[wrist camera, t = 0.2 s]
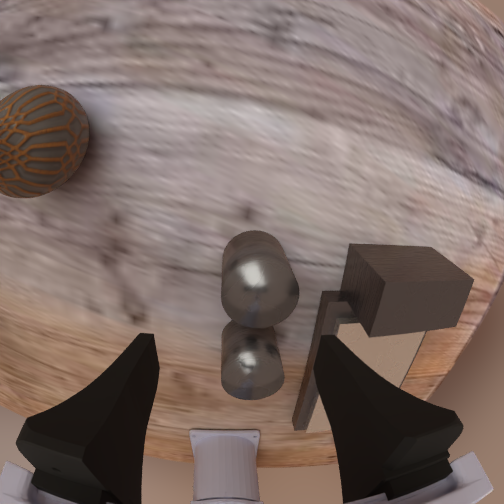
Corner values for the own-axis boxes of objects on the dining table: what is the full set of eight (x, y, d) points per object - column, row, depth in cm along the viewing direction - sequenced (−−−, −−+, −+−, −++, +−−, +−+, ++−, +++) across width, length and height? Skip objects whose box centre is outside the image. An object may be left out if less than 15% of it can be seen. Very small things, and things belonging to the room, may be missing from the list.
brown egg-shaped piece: (110, 172, 18) (39, 206, 10) (35, 192, 18) (-41, 232, 10) (98, 76, 15) (22, 55, 7) (23, 107, 15) (-59, 112, 7)
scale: (378, 407, 30) (395, 444, 25) (292, 419, 29) (301, 463, 24) (443, 247, 22) (485, 279, 17) (330, 242, 21) (363, 282, 16)
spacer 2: (272, 356, 25) (280, 399, 21) (221, 356, 25) (221, 400, 20) (277, 315, 23) (288, 358, 19) (221, 315, 23) (221, 358, 18)
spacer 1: (281, 287, 22) (293, 327, 18) (222, 286, 22) (220, 327, 17) (287, 231, 21) (303, 262, 16) (223, 229, 20) (221, 260, 16)
